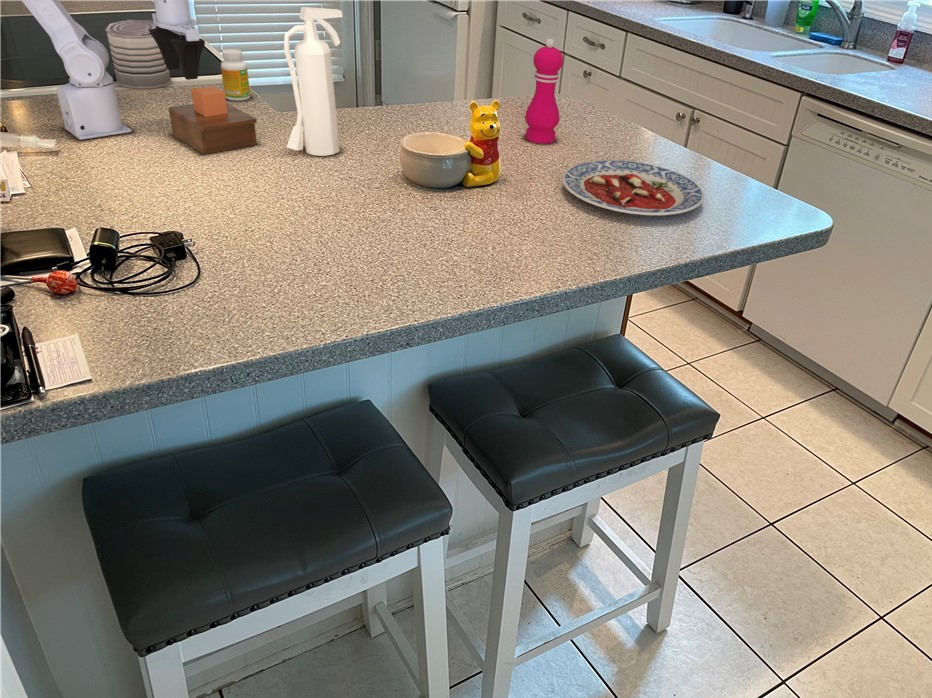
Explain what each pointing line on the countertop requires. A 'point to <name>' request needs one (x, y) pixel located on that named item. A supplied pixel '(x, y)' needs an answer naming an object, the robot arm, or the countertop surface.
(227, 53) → the supplement bottle
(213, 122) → the lid
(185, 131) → the box
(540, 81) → the pepper mill
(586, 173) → the ceramic plate
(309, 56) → the fire extinguisher
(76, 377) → the countertop surface
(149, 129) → the countertop surface
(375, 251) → the countertop surface
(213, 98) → the block
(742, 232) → the countertop surface
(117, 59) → the can
